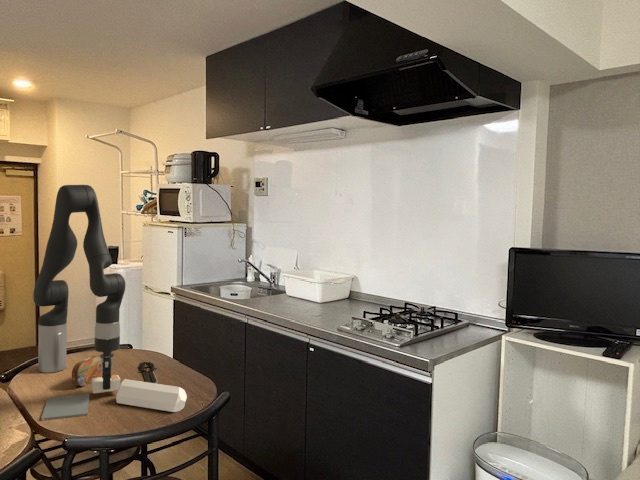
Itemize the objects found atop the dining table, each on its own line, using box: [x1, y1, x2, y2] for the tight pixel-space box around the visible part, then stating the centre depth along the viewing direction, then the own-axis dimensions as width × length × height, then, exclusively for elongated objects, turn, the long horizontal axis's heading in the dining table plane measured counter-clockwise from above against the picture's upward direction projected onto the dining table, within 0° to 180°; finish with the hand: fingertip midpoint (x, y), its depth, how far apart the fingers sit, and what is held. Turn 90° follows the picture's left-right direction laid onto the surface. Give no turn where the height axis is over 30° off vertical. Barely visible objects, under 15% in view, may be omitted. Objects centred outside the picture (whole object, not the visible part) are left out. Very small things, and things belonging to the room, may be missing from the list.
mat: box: [40, 393, 91, 420], centre depth 151 cm, size 16×12×1 cm
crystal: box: [115, 378, 188, 413], centre depth 155 cm, size 7×7×24 cm
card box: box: [91, 374, 121, 394], centre depth 162 cm, size 4×8×4 cm, turn 121°
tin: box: [71, 354, 103, 387], centre depth 173 cm, size 15×3×8 cm, turn 168°
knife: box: [138, 361, 159, 384], centre depth 183 cm, size 25×6×1 cm, turn 20°
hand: (106, 385), depth 162 cm, fingers closed on card box, 5 cm apart
